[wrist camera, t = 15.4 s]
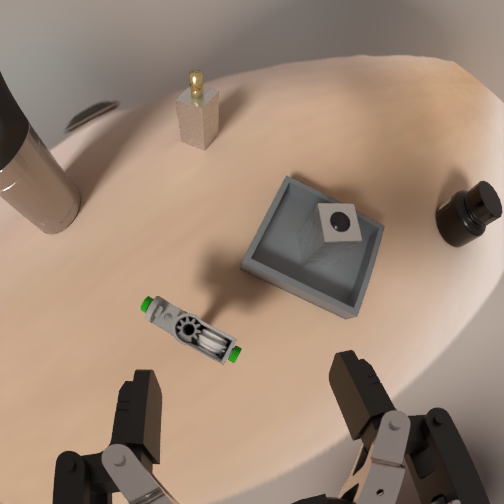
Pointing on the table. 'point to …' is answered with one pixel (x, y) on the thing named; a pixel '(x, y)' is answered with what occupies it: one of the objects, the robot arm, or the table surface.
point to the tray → (288, 256)
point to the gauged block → (198, 112)
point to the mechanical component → (190, 330)
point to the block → (328, 234)
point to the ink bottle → (468, 214)
